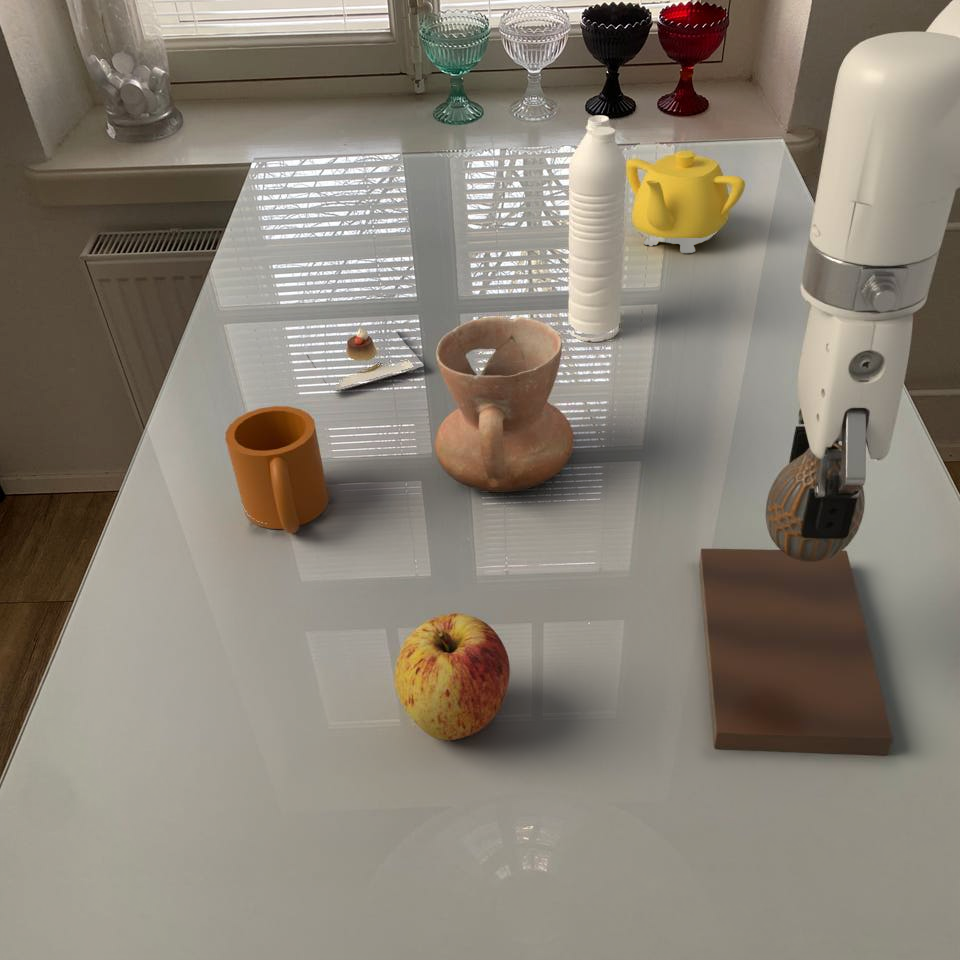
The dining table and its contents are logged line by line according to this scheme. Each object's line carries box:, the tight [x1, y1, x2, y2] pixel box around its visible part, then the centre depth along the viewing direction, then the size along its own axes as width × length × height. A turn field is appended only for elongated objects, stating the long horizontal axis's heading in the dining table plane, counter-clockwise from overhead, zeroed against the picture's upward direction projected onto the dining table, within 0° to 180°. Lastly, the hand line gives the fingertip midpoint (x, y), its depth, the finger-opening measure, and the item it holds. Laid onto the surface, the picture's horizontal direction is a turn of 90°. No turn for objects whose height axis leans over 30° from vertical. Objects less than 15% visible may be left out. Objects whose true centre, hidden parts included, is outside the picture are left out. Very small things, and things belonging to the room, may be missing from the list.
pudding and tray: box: [336, 327, 416, 392], centre depth 121 cm, size 12×12×5 cm
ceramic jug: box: [434, 315, 575, 493], centre depth 100 cm, size 18×14×14 cm
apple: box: [394, 612, 511, 741], centre depth 77 cm, size 9×9×10 cm
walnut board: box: [698, 548, 894, 756], centre depth 83 cm, size 22×13×2 cm, turn 174°
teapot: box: [626, 149, 746, 238], centre depth 138 cm, size 14×14×12 cm
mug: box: [225, 405, 330, 534], centre depth 99 cm, size 9×12×9 cm
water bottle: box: [567, 114, 627, 343], centre depth 116 cm, size 9×6×25 cm
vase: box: [765, 442, 866, 562], centre depth 73 cm, size 7×7×9 cm
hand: (816, 501), depth 73 cm, fingers closed on vase, 6 cm apart
